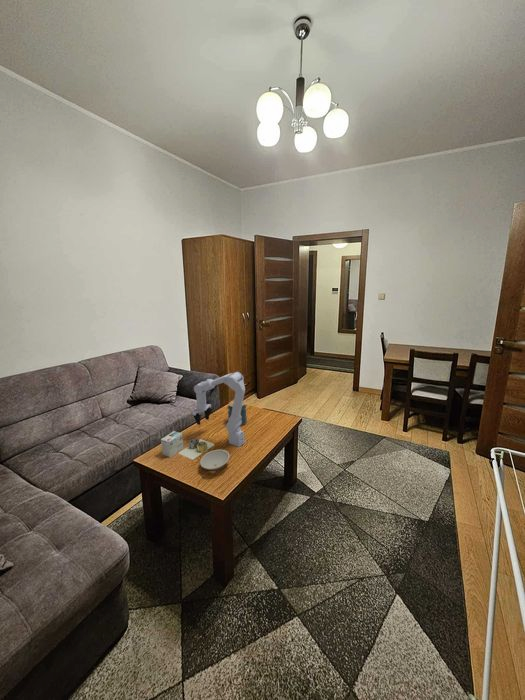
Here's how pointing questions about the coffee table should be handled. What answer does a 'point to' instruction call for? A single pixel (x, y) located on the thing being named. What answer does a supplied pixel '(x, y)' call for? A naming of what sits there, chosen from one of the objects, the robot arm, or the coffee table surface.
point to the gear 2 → (202, 447)
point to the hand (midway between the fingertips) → (202, 421)
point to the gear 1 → (193, 444)
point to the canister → (243, 411)
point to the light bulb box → (172, 443)
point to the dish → (214, 459)
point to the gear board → (194, 450)
